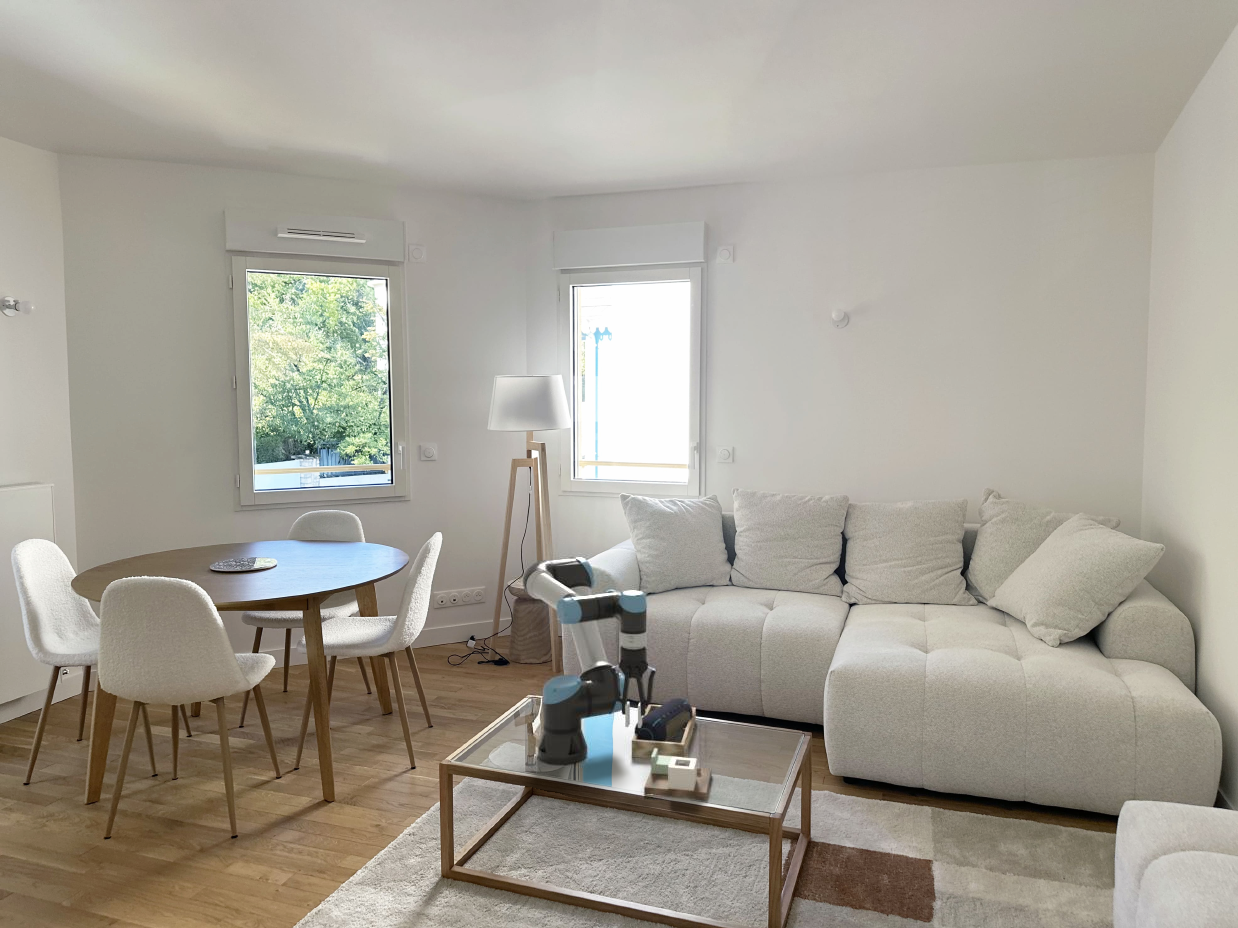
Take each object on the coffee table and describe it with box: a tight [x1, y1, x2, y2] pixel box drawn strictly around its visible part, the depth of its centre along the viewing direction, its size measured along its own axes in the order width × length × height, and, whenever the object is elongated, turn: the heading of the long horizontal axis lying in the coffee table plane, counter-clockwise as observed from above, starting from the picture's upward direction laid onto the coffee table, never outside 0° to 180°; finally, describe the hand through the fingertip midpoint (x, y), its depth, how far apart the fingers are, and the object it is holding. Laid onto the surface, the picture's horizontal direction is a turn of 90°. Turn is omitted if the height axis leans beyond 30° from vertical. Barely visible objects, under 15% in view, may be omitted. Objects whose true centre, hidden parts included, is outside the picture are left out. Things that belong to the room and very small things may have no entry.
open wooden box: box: [631, 704, 697, 759], centre depth 269 cm, size 16×31×5 cm, turn 168°
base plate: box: [643, 761, 712, 801], centre depth 236 cm, size 17×15×8 cm
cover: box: [650, 748, 674, 775], centre depth 241 cm, size 8×6×5 cm
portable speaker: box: [633, 697, 693, 742], centre depth 268 cm, size 25×10×10 cm, turn 146°
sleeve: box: [668, 757, 698, 791], centre depth 232 cm, size 7×7×6 cm
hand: (633, 725), depth 242 cm, fingers open, 3 cm apart
